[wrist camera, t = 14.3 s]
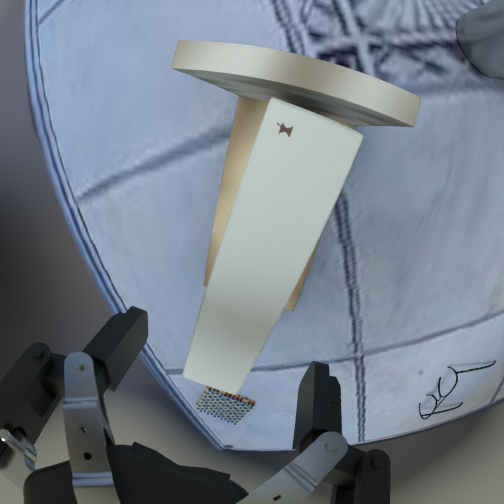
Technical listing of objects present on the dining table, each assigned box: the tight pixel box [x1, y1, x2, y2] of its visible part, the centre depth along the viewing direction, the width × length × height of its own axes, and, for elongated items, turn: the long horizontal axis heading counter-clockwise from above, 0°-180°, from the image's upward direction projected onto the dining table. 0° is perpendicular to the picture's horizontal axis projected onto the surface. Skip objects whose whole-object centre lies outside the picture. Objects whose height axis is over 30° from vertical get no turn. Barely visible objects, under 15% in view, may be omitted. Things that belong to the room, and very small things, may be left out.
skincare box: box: [182, 98, 363, 395], centre depth 23 cm, size 21×6×16 cm, turn 161°
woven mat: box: [196, 387, 255, 425], centre depth 50 cm, size 10×11×2 cm
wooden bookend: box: [171, 40, 421, 311], centre depth 24 cm, size 12×25×18 cm, turn 167°
